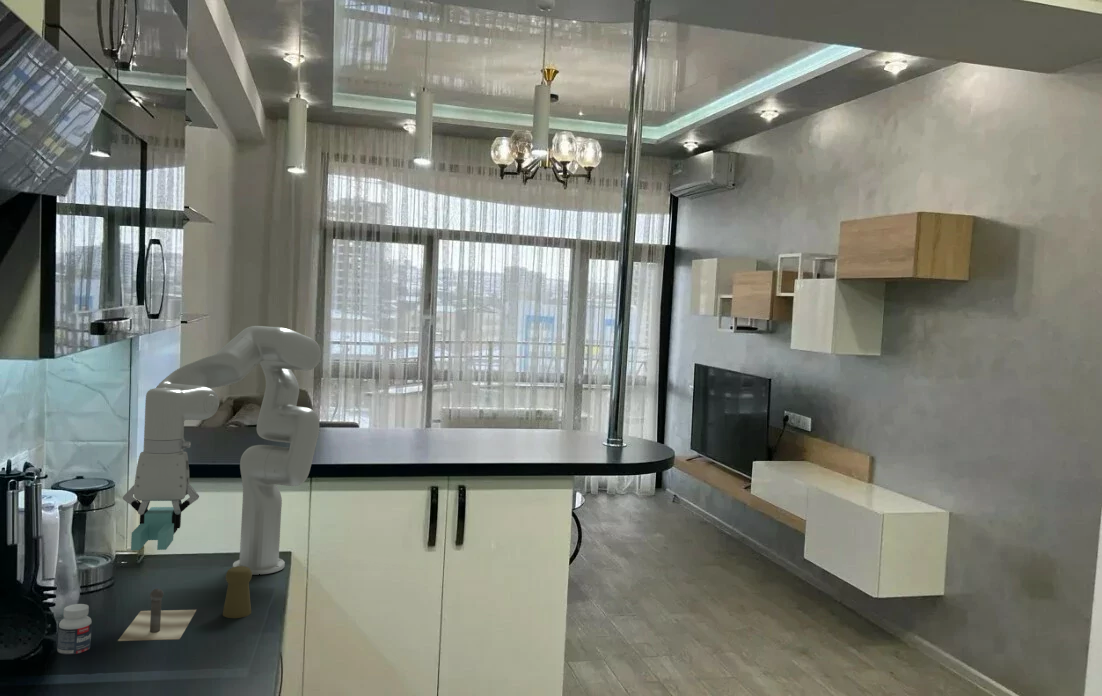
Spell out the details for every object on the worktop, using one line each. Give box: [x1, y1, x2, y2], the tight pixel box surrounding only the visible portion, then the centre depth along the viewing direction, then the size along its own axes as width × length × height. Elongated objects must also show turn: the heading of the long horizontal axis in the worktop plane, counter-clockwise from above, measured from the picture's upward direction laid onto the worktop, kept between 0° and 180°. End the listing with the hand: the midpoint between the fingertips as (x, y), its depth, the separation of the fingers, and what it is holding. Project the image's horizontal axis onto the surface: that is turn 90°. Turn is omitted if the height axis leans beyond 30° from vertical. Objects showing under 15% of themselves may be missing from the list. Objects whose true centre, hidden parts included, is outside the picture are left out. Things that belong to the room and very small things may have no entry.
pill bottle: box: [56, 603, 93, 655], centre depth 147 cm, size 5×5×9 cm
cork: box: [222, 566, 253, 619], centre depth 169 cm, size 6×6×11 cm
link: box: [130, 506, 176, 551], centre depth 164 cm, size 13×6×6 cm, turn 15°
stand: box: [117, 588, 197, 642], centre depth 160 cm, size 16×11×10 cm
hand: (160, 530), depth 168 cm, fingers closed on link, 5 cm apart
